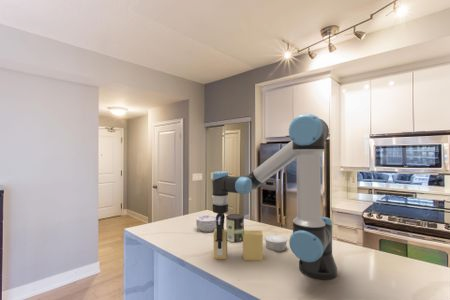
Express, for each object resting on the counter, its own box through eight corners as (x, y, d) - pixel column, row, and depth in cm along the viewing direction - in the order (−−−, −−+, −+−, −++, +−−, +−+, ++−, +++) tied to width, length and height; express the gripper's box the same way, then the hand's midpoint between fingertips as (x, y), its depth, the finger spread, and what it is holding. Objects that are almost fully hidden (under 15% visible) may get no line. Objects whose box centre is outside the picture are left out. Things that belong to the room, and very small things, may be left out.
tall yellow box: (261, 255, 113) (261, 230, 113) (262, 260, 107) (262, 234, 107) (242, 254, 113) (242, 230, 113) (243, 260, 108) (242, 233, 108)
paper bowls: (206, 224, 163) (206, 213, 164) (224, 228, 155) (224, 216, 155) (191, 230, 151) (191, 218, 151) (209, 235, 142) (209, 222, 142)
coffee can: (245, 238, 137) (244, 214, 138) (242, 244, 127) (242, 219, 127) (228, 236, 139) (227, 213, 140) (224, 243, 129) (224, 218, 129)
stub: (227, 253, 114) (227, 229, 114) (226, 259, 108) (226, 233, 108) (214, 253, 114) (214, 229, 114) (213, 258, 109) (213, 232, 109)
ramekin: (261, 248, 122) (261, 238, 122) (272, 242, 130) (272, 233, 131) (280, 254, 115) (280, 244, 115) (290, 248, 123) (290, 238, 123)
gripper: (214, 199, 121) (214, 244, 121) (209, 207, 103) (210, 260, 102) (229, 199, 121) (229, 244, 120) (226, 208, 102) (227, 261, 102)
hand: (220, 252), depth 111 cm, fingers closed on stub, 5 cm apart
